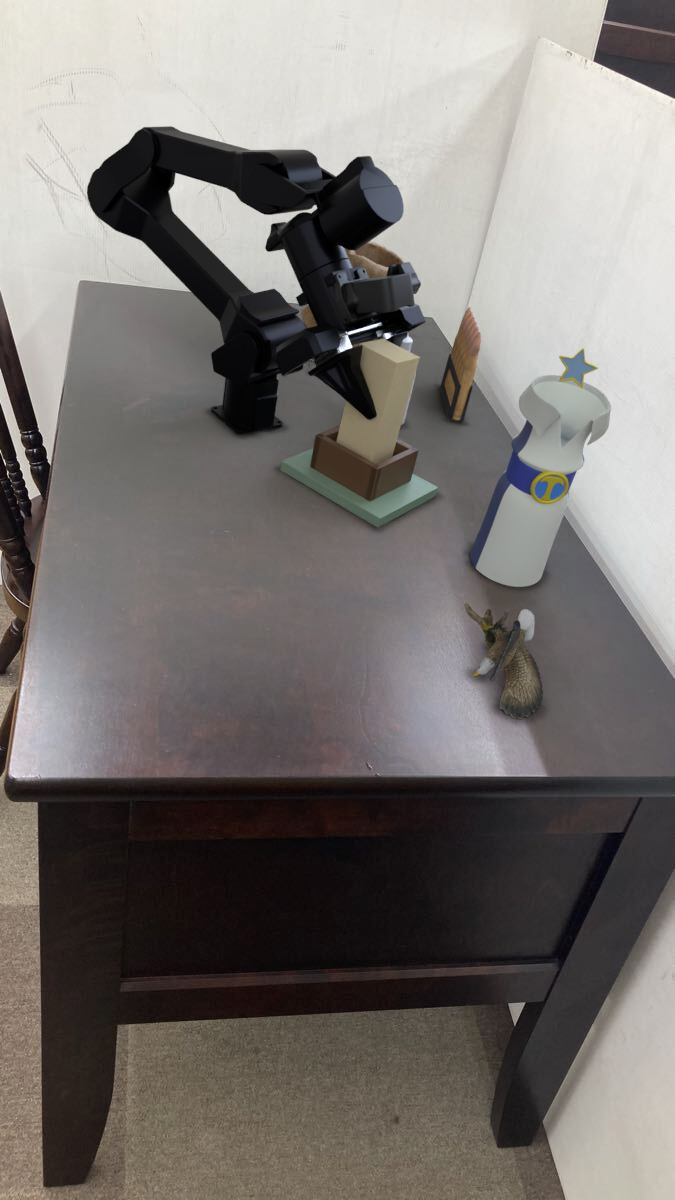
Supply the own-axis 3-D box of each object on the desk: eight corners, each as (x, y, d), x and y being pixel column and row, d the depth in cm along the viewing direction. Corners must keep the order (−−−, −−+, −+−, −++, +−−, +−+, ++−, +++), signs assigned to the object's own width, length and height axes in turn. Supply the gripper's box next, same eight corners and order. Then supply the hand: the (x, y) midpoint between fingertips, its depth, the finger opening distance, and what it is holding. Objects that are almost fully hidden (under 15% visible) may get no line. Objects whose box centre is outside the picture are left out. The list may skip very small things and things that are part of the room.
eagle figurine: (433, 636, 79) (469, 693, 71) (488, 576, 77) (532, 628, 69) (490, 675, 82) (530, 734, 74) (544, 619, 80) (590, 673, 73)
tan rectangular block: (332, 456, 98) (359, 343, 91) (355, 448, 101) (382, 338, 93) (366, 477, 96) (397, 362, 88) (389, 468, 99) (420, 357, 91)
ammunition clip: (462, 423, 117) (487, 336, 110) (449, 421, 117) (473, 333, 110) (452, 389, 126) (475, 306, 119) (440, 387, 126) (461, 303, 118)
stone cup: (396, 372, 127) (420, 267, 118) (315, 365, 124) (334, 256, 115) (372, 330, 138) (393, 231, 129) (297, 323, 135) (313, 220, 126)
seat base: (279, 470, 99) (286, 428, 96) (341, 444, 107) (349, 404, 104) (377, 528, 93) (388, 485, 90) (435, 496, 101) (447, 456, 98)
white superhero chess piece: (557, 594, 90) (656, 362, 74) (475, 584, 88) (558, 347, 73) (539, 545, 96) (627, 323, 80) (462, 536, 95) (537, 308, 79)
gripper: (317, 244, 80) (386, 407, 82) (432, 224, 92) (490, 366, 94) (243, 299, 88) (308, 446, 90) (359, 274, 100) (414, 403, 102)
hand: (385, 413), depth 94 cm, fingers closed on tan rectangular block, 4 cm apart
